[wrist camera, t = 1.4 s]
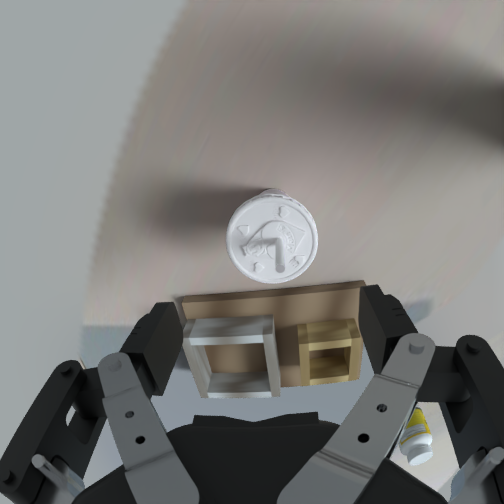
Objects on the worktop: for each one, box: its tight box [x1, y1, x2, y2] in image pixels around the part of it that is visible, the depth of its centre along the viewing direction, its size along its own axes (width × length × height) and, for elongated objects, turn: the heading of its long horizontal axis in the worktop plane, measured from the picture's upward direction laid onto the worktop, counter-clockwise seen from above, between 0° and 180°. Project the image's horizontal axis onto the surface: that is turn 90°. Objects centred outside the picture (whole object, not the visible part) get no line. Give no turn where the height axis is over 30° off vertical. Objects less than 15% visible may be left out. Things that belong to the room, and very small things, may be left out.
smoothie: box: [226, 189, 318, 284], centre depth 23 cm, size 6×6×14 cm
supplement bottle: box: [398, 405, 433, 465], centre depth 36 cm, size 5×5×10 cm
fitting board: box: [182, 280, 366, 398], centre depth 33 cm, size 20×14×5 cm
